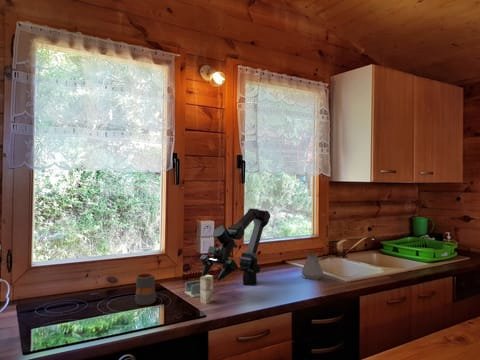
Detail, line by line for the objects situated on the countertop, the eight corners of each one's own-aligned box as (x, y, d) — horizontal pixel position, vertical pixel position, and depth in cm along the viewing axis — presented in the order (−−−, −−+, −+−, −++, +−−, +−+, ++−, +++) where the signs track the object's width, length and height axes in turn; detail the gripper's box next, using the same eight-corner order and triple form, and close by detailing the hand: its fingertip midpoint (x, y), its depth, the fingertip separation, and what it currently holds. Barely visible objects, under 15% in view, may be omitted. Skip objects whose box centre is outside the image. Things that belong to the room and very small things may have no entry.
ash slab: (208, 299, 168) (207, 274, 168) (213, 300, 166) (212, 275, 166) (200, 302, 164) (200, 277, 164) (205, 303, 162) (205, 278, 162)
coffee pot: (297, 276, 204) (297, 249, 204) (313, 274, 210) (313, 247, 210) (323, 286, 186) (323, 256, 186) (341, 283, 191) (341, 253, 191)
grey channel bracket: (203, 289, 183) (203, 278, 183) (211, 293, 176) (211, 282, 176) (184, 292, 177) (184, 282, 177) (192, 297, 171) (192, 286, 171)
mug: (150, 296, 173) (150, 270, 173) (158, 303, 162) (158, 276, 162) (131, 299, 169) (131, 273, 168) (138, 307, 158) (137, 279, 158)
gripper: (202, 237, 176) (185, 265, 167) (234, 241, 165) (217, 271, 156) (213, 251, 183) (197, 279, 174) (244, 256, 171) (229, 286, 163)
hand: (209, 278), depth 166 cm, fingers open, 9 cm apart
